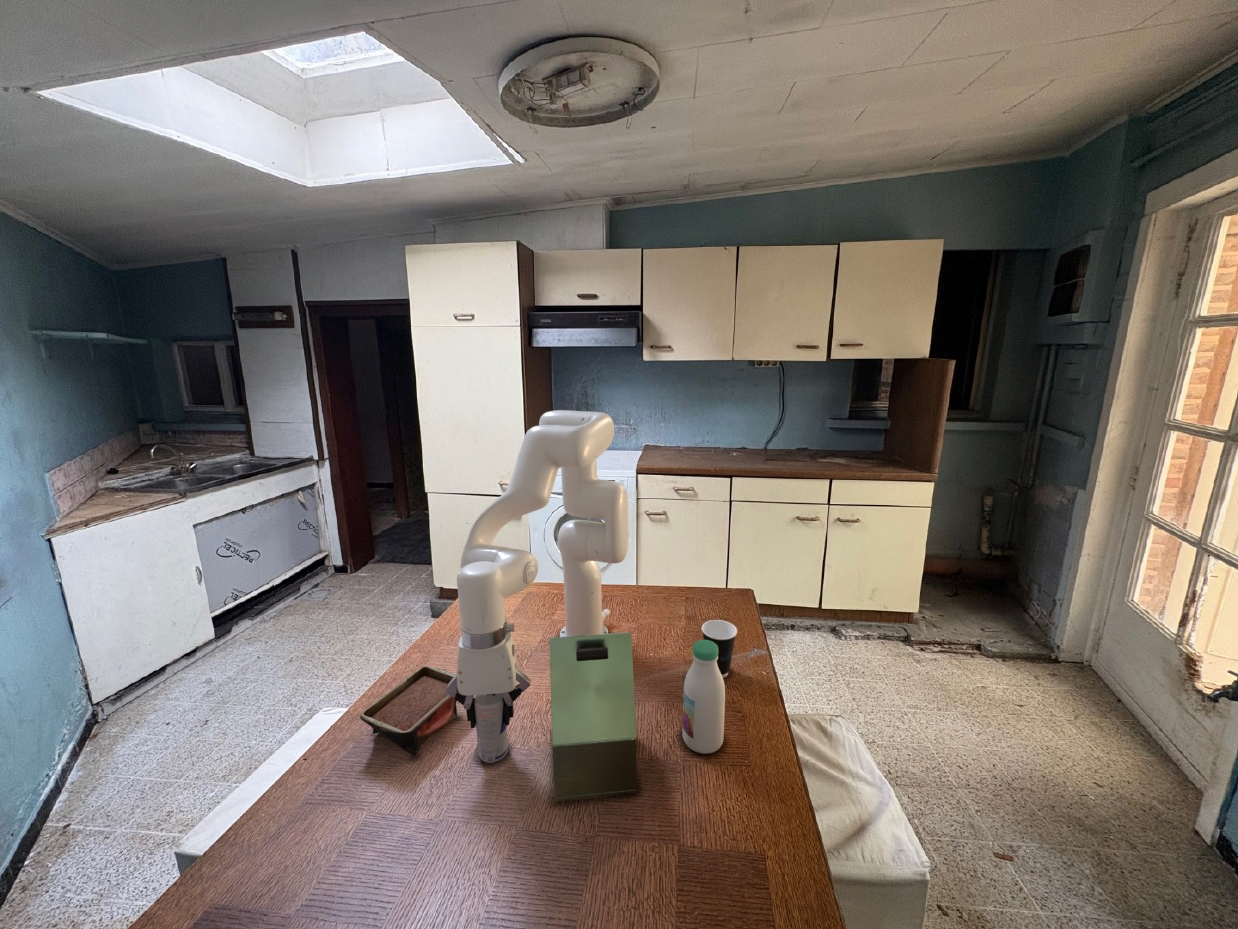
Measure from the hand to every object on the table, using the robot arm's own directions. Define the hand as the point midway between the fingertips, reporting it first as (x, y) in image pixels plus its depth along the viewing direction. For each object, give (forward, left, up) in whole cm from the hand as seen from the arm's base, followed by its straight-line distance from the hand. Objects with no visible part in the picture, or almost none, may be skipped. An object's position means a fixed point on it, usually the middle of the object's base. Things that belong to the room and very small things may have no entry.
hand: (491, 720), depth 91 cm
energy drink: (0, 0, -7) cm, 7 cm away
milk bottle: (-23, +32, -7) cm, 40 cm away
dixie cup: (-44, +27, -7) cm, 52 cm away
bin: (-8, +17, -7) cm, 20 cm away
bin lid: (-5, +20, +12) cm, 23 cm away
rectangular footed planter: (+3, -18, -7) cm, 20 cm away
